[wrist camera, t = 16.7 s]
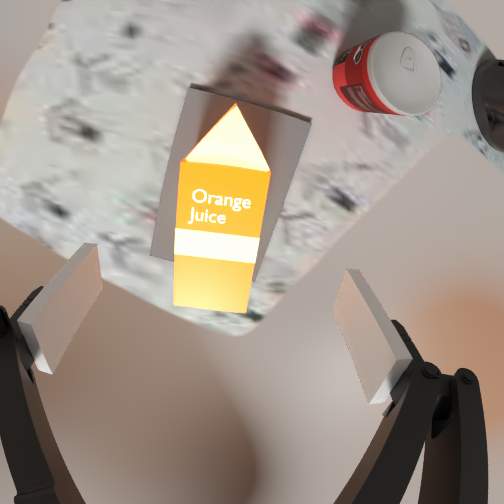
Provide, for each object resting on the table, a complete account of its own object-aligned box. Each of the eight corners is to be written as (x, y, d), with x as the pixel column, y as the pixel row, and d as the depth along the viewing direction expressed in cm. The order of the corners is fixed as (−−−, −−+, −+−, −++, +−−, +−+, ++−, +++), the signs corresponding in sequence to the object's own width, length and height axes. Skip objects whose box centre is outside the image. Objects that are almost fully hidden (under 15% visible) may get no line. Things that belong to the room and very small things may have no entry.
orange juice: (172, 305, 30) (186, 96, 21) (185, 263, 38) (200, 100, 29) (247, 313, 31) (284, 109, 22) (245, 270, 38) (272, 109, 29)
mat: (310, 123, 31) (311, 123, 30) (254, 279, 40) (254, 281, 39) (189, 88, 29) (188, 87, 28) (151, 253, 37) (149, 255, 37)
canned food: (382, 49, 27) (433, 34, 17) (393, 110, 30) (447, 116, 20) (323, 50, 27) (360, 27, 17) (336, 114, 31) (378, 118, 21)
